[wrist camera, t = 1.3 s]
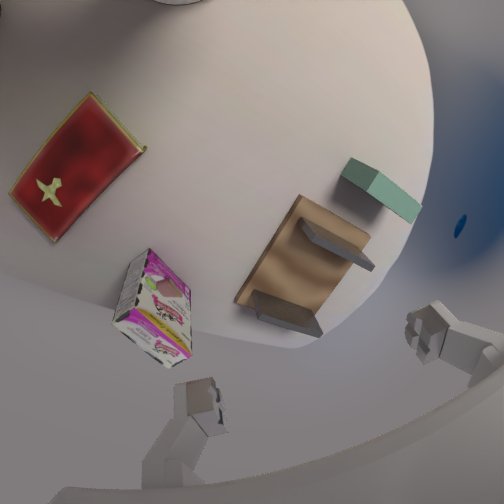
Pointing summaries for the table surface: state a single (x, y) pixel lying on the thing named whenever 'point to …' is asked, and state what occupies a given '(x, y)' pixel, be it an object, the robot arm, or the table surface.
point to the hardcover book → (75, 166)
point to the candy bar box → (155, 310)
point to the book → (382, 189)
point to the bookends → (297, 315)
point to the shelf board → (302, 259)
